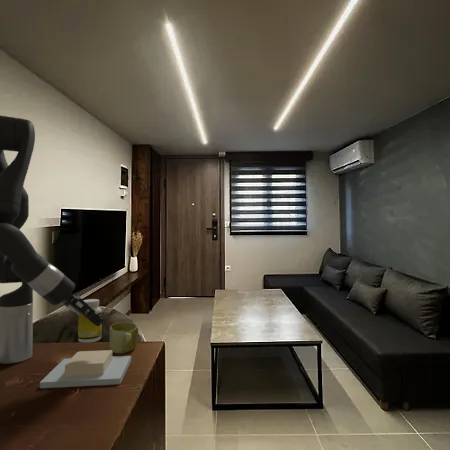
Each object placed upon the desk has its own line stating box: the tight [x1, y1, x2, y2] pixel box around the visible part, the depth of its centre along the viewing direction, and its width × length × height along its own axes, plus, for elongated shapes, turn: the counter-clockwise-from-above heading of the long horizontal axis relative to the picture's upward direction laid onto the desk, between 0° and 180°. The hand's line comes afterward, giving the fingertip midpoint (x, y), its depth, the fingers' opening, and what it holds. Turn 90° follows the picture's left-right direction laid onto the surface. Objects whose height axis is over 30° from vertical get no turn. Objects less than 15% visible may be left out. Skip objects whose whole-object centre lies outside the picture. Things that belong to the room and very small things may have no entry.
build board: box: [39, 349, 132, 389], centre depth 92 cm, size 20×16×4 cm
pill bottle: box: [77, 298, 103, 343], centre depth 92 cm, size 6×6×11 cm
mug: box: [108, 321, 139, 354], centre depth 110 cm, size 12×10×10 cm
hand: (96, 321), depth 94 cm, fingers closed on pill bottle, 6 cm apart
